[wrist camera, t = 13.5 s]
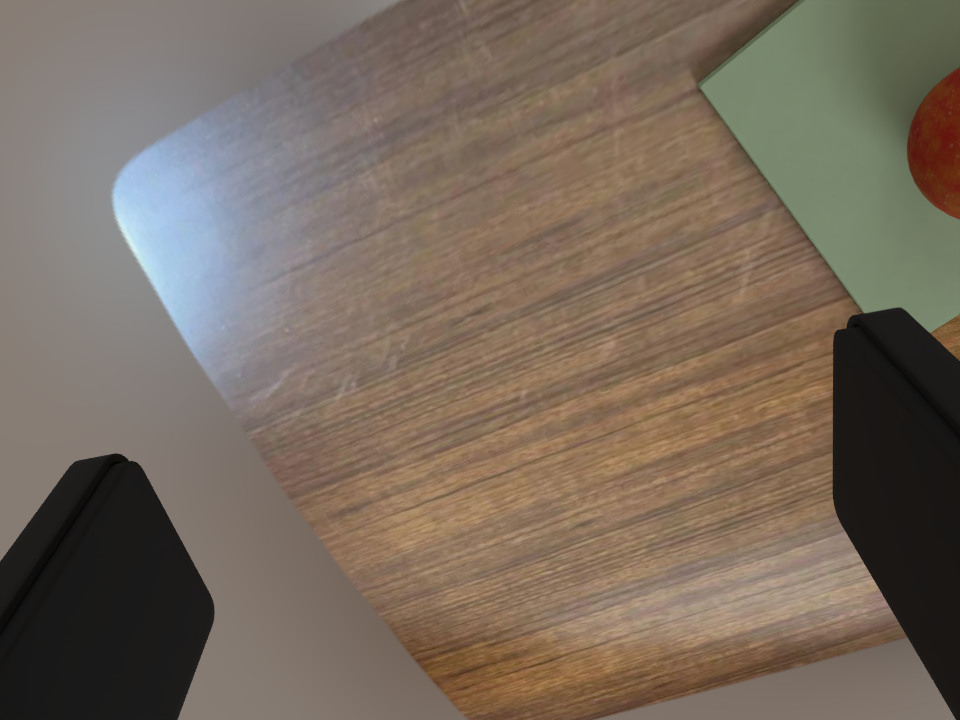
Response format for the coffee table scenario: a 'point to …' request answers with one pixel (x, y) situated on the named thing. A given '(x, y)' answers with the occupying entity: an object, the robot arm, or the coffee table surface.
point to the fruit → (938, 145)
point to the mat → (852, 140)
